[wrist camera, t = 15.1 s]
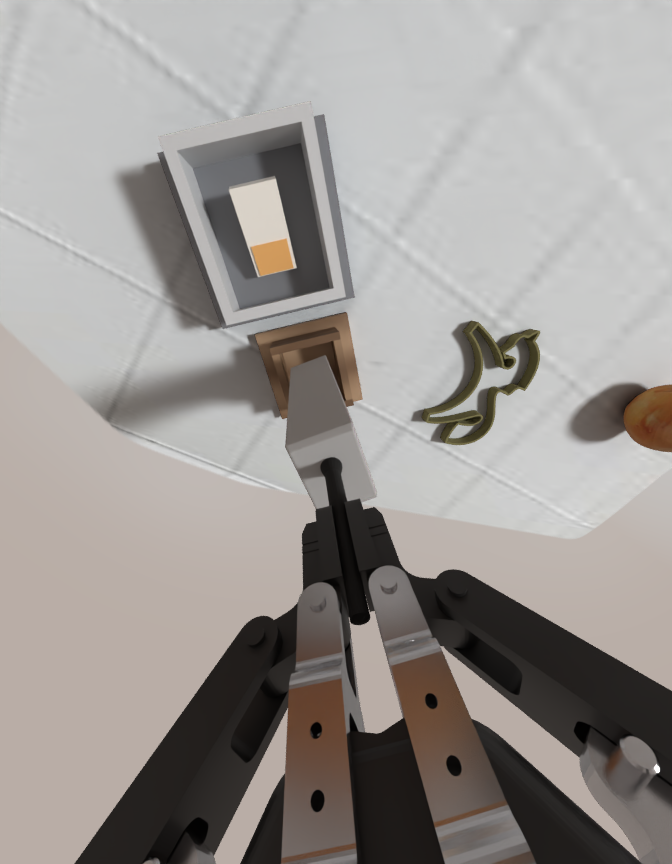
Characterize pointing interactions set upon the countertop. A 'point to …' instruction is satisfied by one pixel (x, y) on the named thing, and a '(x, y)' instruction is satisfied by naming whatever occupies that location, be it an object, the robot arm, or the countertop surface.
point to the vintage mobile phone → (329, 462)
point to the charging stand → (310, 355)
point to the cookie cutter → (476, 417)
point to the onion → (651, 418)
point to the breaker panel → (301, 200)
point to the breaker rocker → (263, 225)
